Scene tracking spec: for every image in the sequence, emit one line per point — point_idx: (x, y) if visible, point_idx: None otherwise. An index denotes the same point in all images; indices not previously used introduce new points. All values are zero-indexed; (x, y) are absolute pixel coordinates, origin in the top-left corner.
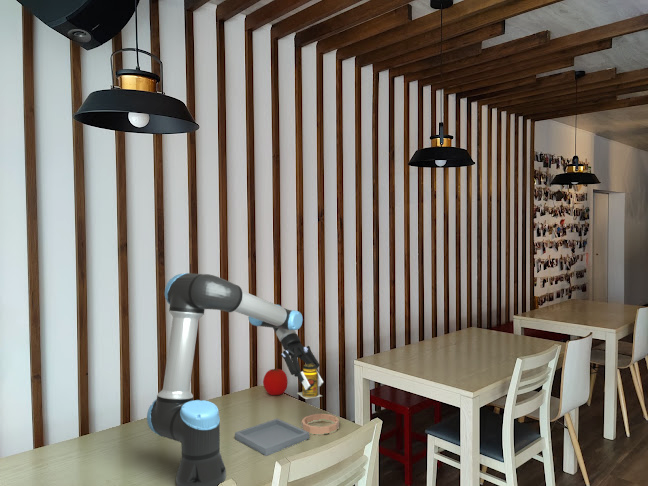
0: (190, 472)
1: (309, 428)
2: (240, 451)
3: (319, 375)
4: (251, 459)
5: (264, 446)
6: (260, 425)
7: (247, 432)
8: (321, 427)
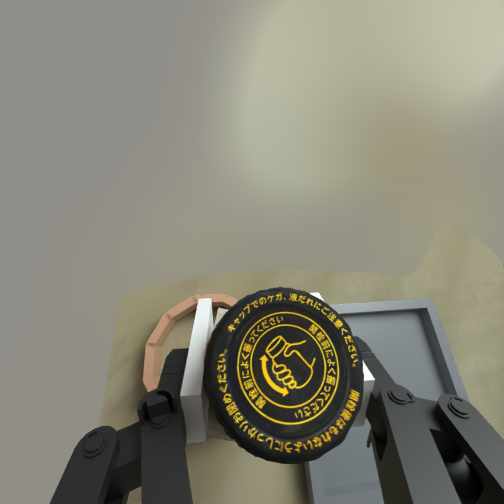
0: None
1: None
2: (472, 371)
3: (193, 334)
4: (453, 310)
5: (431, 313)
6: None
7: None
8: None
